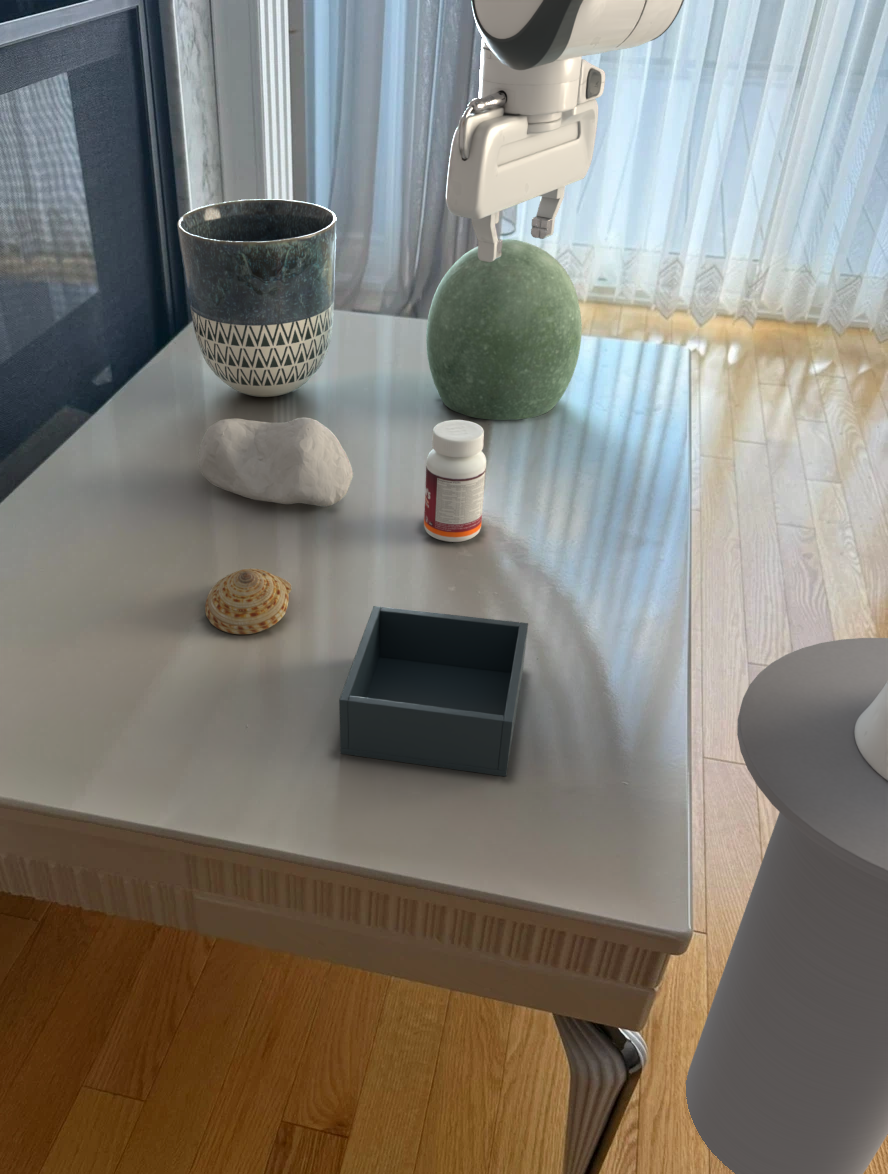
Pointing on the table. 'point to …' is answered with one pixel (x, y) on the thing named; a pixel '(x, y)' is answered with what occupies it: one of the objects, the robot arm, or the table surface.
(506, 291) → the sculpture
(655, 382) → the table surface
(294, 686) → the table surface
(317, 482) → the decorative stone
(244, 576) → the seashell
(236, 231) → the planter
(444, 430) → the pill bottle
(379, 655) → the bin
